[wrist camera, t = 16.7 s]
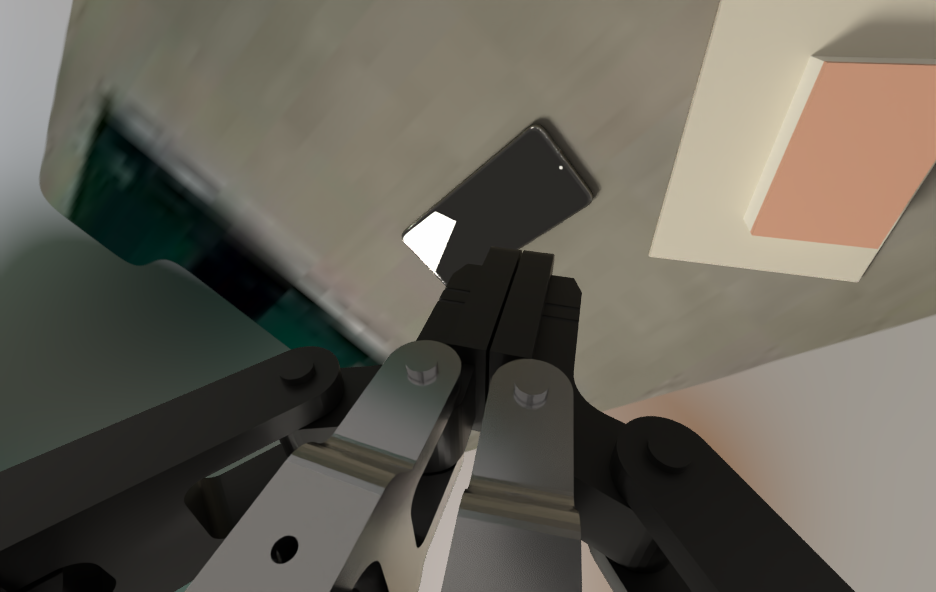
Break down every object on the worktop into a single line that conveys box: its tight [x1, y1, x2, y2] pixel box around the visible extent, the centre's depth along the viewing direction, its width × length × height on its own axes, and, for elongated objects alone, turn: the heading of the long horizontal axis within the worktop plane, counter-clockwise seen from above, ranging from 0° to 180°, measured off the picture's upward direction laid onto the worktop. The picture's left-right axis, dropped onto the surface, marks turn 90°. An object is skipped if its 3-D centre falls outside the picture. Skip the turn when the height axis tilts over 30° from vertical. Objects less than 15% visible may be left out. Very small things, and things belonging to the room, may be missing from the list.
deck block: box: [743, 56, 936, 249], centre depth 25 cm, size 10×2×7 cm
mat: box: [649, 0, 936, 282], centre depth 27 cm, size 17×14×1 cm
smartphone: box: [402, 124, 593, 286], centre depth 35 cm, size 7×1×16 cm
